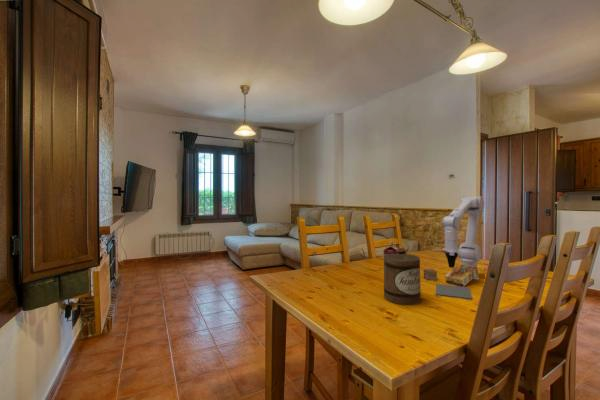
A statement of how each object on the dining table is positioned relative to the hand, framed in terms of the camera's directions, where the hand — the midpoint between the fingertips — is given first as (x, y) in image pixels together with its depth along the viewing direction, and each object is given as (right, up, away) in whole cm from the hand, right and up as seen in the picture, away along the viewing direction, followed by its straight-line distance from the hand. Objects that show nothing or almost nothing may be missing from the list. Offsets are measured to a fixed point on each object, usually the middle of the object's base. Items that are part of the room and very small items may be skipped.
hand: (451, 267), depth 140 cm
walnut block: (-7, -9, +9) cm, 14 cm away
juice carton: (-31, -9, -4) cm, 33 cm away
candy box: (0, -7, -1) cm, 7 cm away
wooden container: (-32, -9, -19) cm, 38 cm away
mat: (-5, -9, -11) cm, 15 cm away
